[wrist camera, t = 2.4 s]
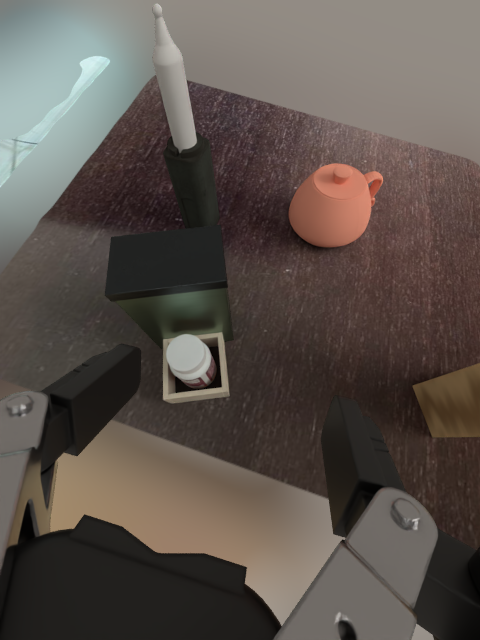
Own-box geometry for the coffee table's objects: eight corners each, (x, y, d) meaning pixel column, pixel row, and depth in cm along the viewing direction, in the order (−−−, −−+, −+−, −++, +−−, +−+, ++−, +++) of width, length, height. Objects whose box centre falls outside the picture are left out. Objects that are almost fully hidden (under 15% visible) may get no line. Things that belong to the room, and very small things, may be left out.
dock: (229, 396, 33) (227, 391, 30) (171, 403, 33) (162, 399, 30) (224, 341, 36) (221, 331, 33) (170, 348, 36) (163, 339, 33)
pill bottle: (201, 346, 36) (188, 321, 29) (224, 371, 35) (217, 352, 27) (173, 370, 35) (152, 351, 27) (196, 397, 33) (180, 384, 26)
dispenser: (235, 341, 36) (226, 280, 22) (159, 350, 36) (104, 295, 22) (230, 300, 39) (220, 224, 25) (159, 309, 39) (110, 236, 25)
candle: (182, 228, 45) (115, 13, 22) (195, 207, 47) (144, -11, 24) (210, 236, 44) (169, 19, 21) (221, 214, 46) (194, -5, 23)
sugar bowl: (276, 209, 46) (283, 151, 37) (349, 191, 48) (374, 130, 38) (303, 264, 41) (319, 213, 32) (384, 242, 43) (422, 187, 33)
